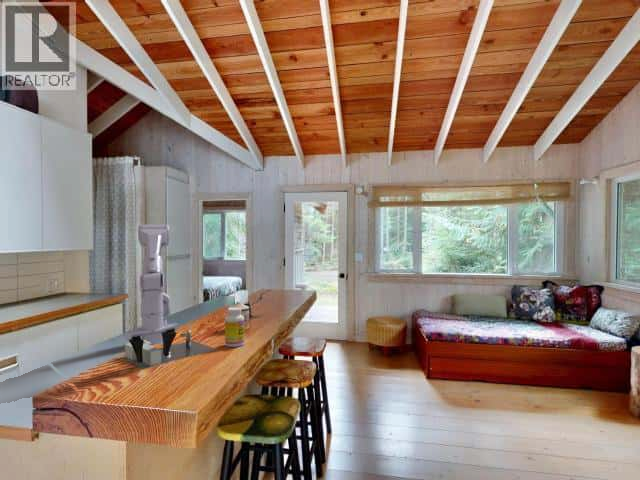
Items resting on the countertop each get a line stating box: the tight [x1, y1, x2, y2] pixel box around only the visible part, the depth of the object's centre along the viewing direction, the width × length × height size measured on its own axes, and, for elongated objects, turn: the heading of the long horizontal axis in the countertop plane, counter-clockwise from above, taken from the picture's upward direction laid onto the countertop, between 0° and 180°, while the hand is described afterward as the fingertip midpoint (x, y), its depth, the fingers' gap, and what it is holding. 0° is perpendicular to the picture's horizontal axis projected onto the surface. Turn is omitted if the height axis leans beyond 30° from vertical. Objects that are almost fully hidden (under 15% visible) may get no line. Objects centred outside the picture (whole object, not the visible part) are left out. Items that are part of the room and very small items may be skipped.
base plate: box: [121, 340, 218, 369], centre depth 115 cm, size 17×24×1 cm
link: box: [124, 340, 161, 367], centre depth 110 cm, size 16×6×4 cm, turn 48°
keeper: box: [180, 329, 192, 347], centre depth 120 cm, size 2×6×6 cm, turn 2°
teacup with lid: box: [227, 300, 250, 331], centre depth 151 cm, size 12×9×12 cm
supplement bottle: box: [224, 307, 245, 348], centre depth 126 cm, size 7×7×13 cm
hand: (153, 358), depth 105 cm, fingers open, 7 cm apart
